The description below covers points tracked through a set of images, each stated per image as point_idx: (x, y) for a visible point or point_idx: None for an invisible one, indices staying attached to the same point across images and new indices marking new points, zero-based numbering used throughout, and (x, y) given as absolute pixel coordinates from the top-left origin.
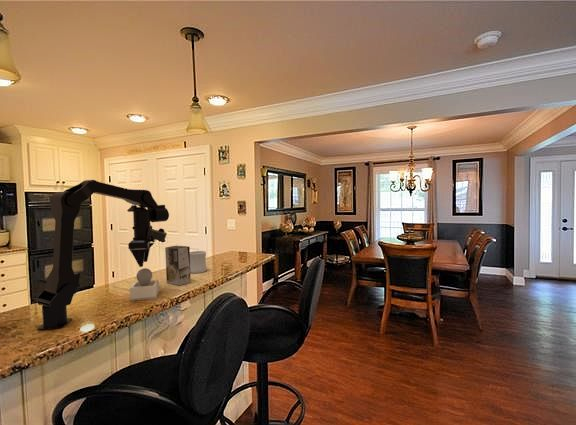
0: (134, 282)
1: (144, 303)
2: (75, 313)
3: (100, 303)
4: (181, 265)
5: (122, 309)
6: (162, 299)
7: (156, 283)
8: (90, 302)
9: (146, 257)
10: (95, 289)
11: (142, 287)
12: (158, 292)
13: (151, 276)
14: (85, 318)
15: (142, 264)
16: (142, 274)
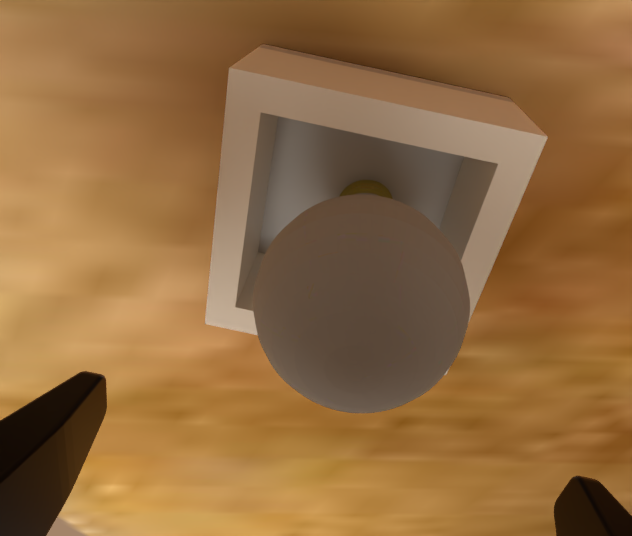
0: (229, 326)
1: (585, 206)
2: (482, 528)
3: (362, 443)
4: None
5: (613, 349)
6: (586, 34)
7: (421, 115)
8: (306, 480)
9: (55, 450)
10: None
11: (487, 272)
12: (319, 57)
13: (419, 216)
14: (620, 500)
15: (626, 520)
16: (455, 356)
